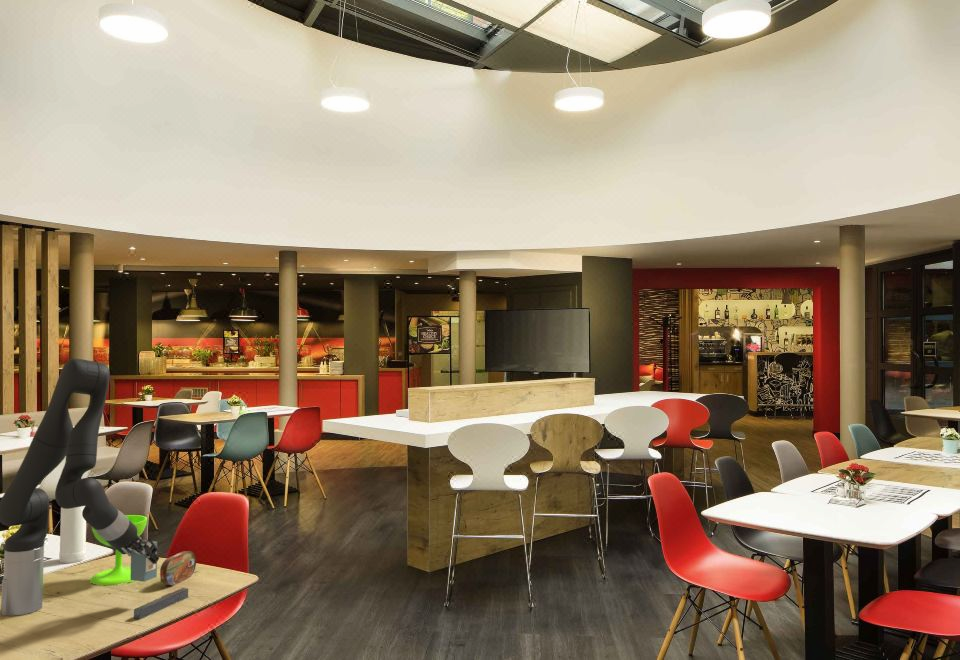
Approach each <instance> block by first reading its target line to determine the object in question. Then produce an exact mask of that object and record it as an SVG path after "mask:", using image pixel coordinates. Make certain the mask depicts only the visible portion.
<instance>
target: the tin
mask: <svg viewBox="0 0 960 660" xmlns="http://www.w3.org/2000/svg"><path fill="white" fill-rule="evenodd" d="M196 566H197V558H196V555H195V553H194V552H193V551H191V550H188V551H186V550H185V551H181V552H179V553H176V554H175V555H172V556H170V557H168V558H166V559H165V560H164V561H163V562H162V563H161V566H160V568H159V569H160V571H159V572H160V573H159V574H160V575H159V577H160V582H161V583H162V584H163V585H164V586H173V587H174V586H176V585H177V584H178V585H179V583H181V581H182V582H183V581H185V580H187V579H189V578H190V577H192V575H193V574H194V573H195V571H196Z"/></svg>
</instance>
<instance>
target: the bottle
mask: <svg viewBox="0 0 960 660" xmlns="http://www.w3.org/2000/svg"><path fill="white" fill-rule="evenodd" d="M84 507H85V506H81V507H76V508H70V509H64V508H62V507H60V530H59V531H60V533H59V534H60V535H59V562H60V563H61V564H74V563H79V562H82V561H83V560H85V559H86V555H87V549H86V547H87V545H86V544H87V539H86V538H87V522H86V521H85V519H84V518H83V516H82V511H83V509H84Z"/></svg>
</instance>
